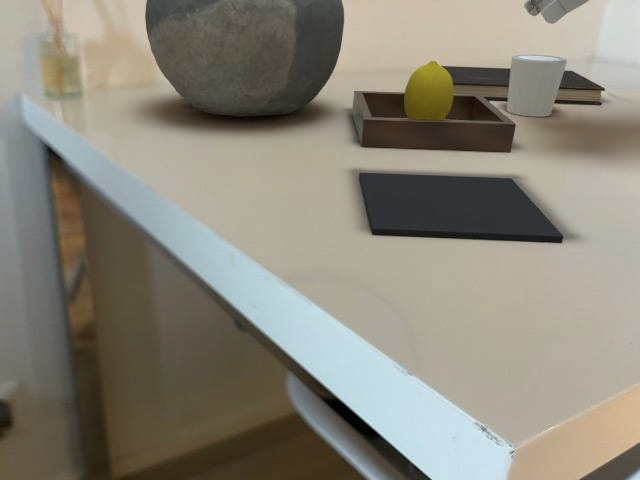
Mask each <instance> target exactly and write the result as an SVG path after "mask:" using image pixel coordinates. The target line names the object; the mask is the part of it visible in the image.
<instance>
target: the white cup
mask: <svg viewBox="0 0 640 480" xmlns="http://www.w3.org/2000/svg"><path fill="white" fill-rule="evenodd" d="M510 61H511V63H510V68H511V71H510V81H509V92H508V101H506V104H507V105H506V111H507V112H508V113H509V114H513V115H518V116H523V117H531V118H532V117H534V118H536V117H537V118H538V117H539V118H540V117H541V118H542V117H548V116H551V114H552V111H553V108H554V105H555V103H554V102H555V99H556V95H557V92H558V89H559V86H560V83H561V80H562V76H563V73H564V70H566V66H567V63H568V59H566V58H563V57H560V56H555V55H554V56H553V55H547V54H516V55H512V56H511V60H510Z"/></svg>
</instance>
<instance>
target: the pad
mask: <svg viewBox="0 0 640 480" xmlns="http://www.w3.org/2000/svg"><path fill="white" fill-rule="evenodd" d="M358 179H359V182H360V187H361V192H362V196H363V201H364V204H365V208H366V213H367V216H368V221H369V222H368V223H369V226H370V231H371V234H372V235H383V236H406V237H432V238H453V239H454V238H457V239H476V240H477V239H480V240H500V241H501V240H502V241H523V242H524V241H525V242H526V241H527V242H547V243H548V242H549V243H551V242H552V243H562V242H563V240H564V235H563V234H562V233H561V232H560V231H559V229H558V228H557V227H556V226H555V225H554V223H552V222H551V221H550V220H549V218H548V217H547V216H546V215H545V214H544V213H543V212H542V210H541V209H540V208H539V207H538V206H537V205H536V204H535V202H533V201H532V199H531V198H530V197H529V196H528V195H527V194H526V192H525V191H524V190H523V189H522V188H521V187H520V186H519V184H517V182H515V180H514V179H513V178H511V177H492V176H491V177H489V176H465V175H464V176H463V175H437V174H436V175H435V174H408V173H386V172H385V173H382V172H381V173H380V172H359V175H358Z"/></svg>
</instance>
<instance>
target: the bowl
mask: <svg viewBox="0 0 640 480" xmlns="http://www.w3.org/2000/svg"><path fill="white" fill-rule="evenodd" d="M144 19H145V21H144V22H145V30H146V34H147V40H148V43H149V46H150V47H149V48H150V51H151V53H152V55H153V58H154V60H155V63H156V64H157V66H158V69H159V70H160V72H161V74H162V75H163V77H164V78H165V79H166V80H167V81H168V82H169V83H170V85H171V86H172V87H173V88H174V90H175V91H176V93H177V94H179V96H180V97H181V98H183V100H184V101H186V102H187V104H189V105H191V106H192V107H194V108H195V109H196V110H199V111H201V112H205V114H210V115H214V116H217V115H222V116H231V117H235V118H238V117H258V116H259V117H260V116H285V115H289V114H291V113H293V112H295V111H297V110H299V109H301V108H303V107H306V105H308V104H310V103H311V102H312V101H313V100H314V99H315V98H316V97H317V96H318V95H319V93H321V91H322V90H323V88H324V87H325V86H326V84H327V83H328V81H329V80H330V79H331V76H332V75H333V73H334V71H335V69H336V66H337V63H338V59H339V57H340V52H341V49H342V42H343V36H344V35H343V34H344V28H345V27H344V25H345V7H344V3H343V0H146V3H145V13H144Z"/></svg>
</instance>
